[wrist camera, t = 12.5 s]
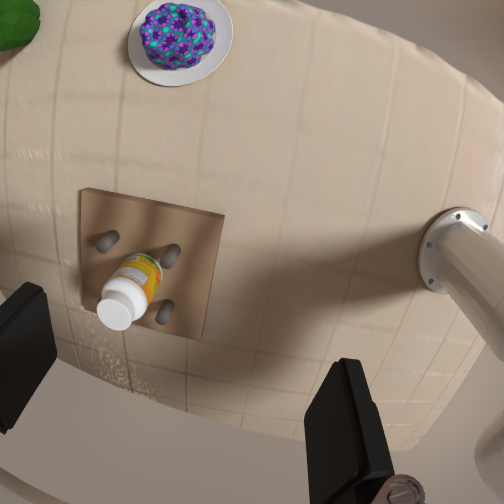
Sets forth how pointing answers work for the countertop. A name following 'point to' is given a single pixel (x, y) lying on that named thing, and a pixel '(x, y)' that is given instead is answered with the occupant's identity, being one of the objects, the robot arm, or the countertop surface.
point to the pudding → (179, 40)
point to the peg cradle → (158, 247)
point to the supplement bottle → (129, 291)
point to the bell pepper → (18, 22)
